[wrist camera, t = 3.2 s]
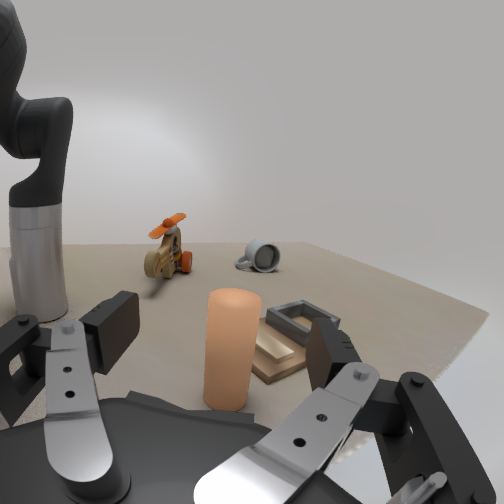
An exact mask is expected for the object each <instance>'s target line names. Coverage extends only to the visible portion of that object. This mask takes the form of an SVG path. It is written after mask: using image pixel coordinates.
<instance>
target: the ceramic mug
mask: <svg viewBox="0 0 504 504" xmlns="http://www.w3.org/2000/svg"><path fill="white" fill-rule="evenodd" d="M245 260H247V261H248V262H245V263H241V262H243V261H245ZM279 261H280V251H279V249H278V247H277V246H276V245H274V244H272V243H269V242H266V241H263V240H254V241H252V242H250V243H249V244H248V245H247V247H246V249H245V255H244V256H242V257H239V258H238V259H237V260H236V261H235V264H236V267H237V268H238V269H245V268H249V267H251V266H253V267H254V268H255V269H257V270H258V271H260V272H264V273H265V272H270V271H272V270H274V269H275V268H276V267H277V265H278V264H279Z"/></svg>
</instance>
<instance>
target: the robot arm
mask: <svg viewBox="0 0 504 504" xmlns="http://www.w3.org/2000/svg"><path fill="white" fill-rule="evenodd" d="M26 53H27V46H26V39H25V36H24V33H23V30H22V28H21V25H20V23H19V20H18V17H17V14H16V11H15V8H14V6H13V4H12V3H11V1H10V0H0V145H1V146H2V147H3V148H4V149H5V150H6V151H7V152H8V153H9V154H10V155H11V156H13V157H15V158H18V159H33V158H40V162H39V166H38V168H37V169H36V171H35V172H34V173H33V174H31V175H30V176H29V177H28V178H26V179H25V180H23V181H21V182H19V183H17V184H15V185H14V186H12V187H11V189H10V192H9V226H10V244H11V258H10V260H9V265H10V273H11V280H12V286H13V292H14V298H15V303H16V308H17V312H18V316H16V317H14V318H13V319H12V320H10V321H9V322H7V323H6V324H4V325H3V326H2V327H0V504H362V503H361V502H360V501H358V500H357V499H355V498H354V497H353V496H352V495H350V494H349V493H348V492H346V491H345V490H344V489H343V488H341V487H340V486H339V485H338V484H336V483H335V482H334V481H333V480H331V479H330V478H329V477H328V476H326V475H325V473H326V471H327V470H328V469H329V467H330V466H331V464H332V463H333V461H334V460H335V458H336V457H337V456H338V454H339V453H340V451H341V450H342V449H343V447H344V446H345V444H346V443H347V441H348V440H349V438H350V437H351V435H352V434H353V432H354V430H361V431H367V432H373V433H374V435H375V438H376V442H377V445H378V449H379V452H380V455H381V459H382V462H383V466H384V470H385V473H386V477H387V480H388V484H389V488H390V492H391V496H392V498H391V499H390V500H389V501H388V502H387V503H386V504H496V494H495V491H494V489H493V486H492V484H491V482H490V480H489V478H488V476H487V474H486V472H485V470H484V469H483V467H482V465H481V463H480V461H479V459H478V457H477V455H476V454H475V452H474V450H473V448H472V446H471V445H470V443H469V441H468V439H467V438H466V436H465V434H464V432H463V431H462V429H461V427H460V426H459V424H458V422H457V421H456V419H455V417H454V416H453V414H452V413H451V411H450V409H449V408H448V406H447V405H446V403H445V401H444V400H443V398H442V397H441V395H440V394H439V392H438V391H437V389H436V388H435V386H434V385H433V383H432V382H431V380H430V379H429V378H428V377H426V376H425V375H423V374H420V373H417V372H406V373H404V374H402V375H401V377H400V379H399V381H398V382H395V381H389V380H383V379H380V375H379V372H378V371H377V370H376V369H375V368H374V367H372V366H371V365H368V364H366V363H362V361H361V359H360V357H359V355H358V353H357V352H356V350H355V349H354V346H353V344H352V343H351V340H350V338H349V336H348V335H347V334H345V333H344V332H343V331H342V330H336V328H335V326H334V324H333V322H332V320H331V319H327V318H314V319H313V322H312V326H311V330H310V334H309V339H308V343H307V347H306V354H305V359H306V365H307V369H308V374H309V378H310V383H311V387H312V393H311V394H310V395H309V396H308V397H307V398H306V399H305V400H304V401H303V402H302V403H301V404H300V405H299V406H298V407H297V408H296V409H295V410H294V411H293V412H292V413H291V414H290V415H288V416H287V417H286V418H285V419H284V420H283V421H282V422H281V423H280V424H279V425H277V426H276V427H275V428H274V429H273V430H271V429H269V428H267V427H265V426H262V425H260V424H256V423H254V414H250V413H241V412H232V411H225V410H186V409H183V408H180V407H178V406H176V405H173V404H171V403H169V402H166V401H164V400H162V399H160V398H157V397H153V396H149V395H145V394H141V393H137V392H134V391H130V392H129V393H128V395H127V397H126V398H107V399H102V400H99V396H98V392H97V388H96V383H95V379H94V375H93V374H94V373H95V372H97V373H100V374H103V375H107V373H108V372H109V371H110V370H111V368H112V367H113V366H114V364H115V363H116V362H117V361H118V359H119V358H120V357H121V355H122V354H123V353H124V352H125V350H126V349H127V348H128V347H129V345H130V344H131V343H132V342H133V340H134V339H135V338H136V337H137V335H138V333H139V328H140V317H139V297H138V294H137V293H133V292H128V291H120V292H119V293H118V294H117V295H115V296H114V297H113V298H110V299H108V300H105V301H102V302H101V303H100V304H98V305H97V306H96V307H94V308H93V309H92V310H91V311H89V312H88V313H87V314H85V315H84V316H83V317H82V318H80V319H79V320H74V319H65V320H61V321H58V322H56V323H55V324H54V325H53V327H52V329H49V328H40V327H39V323H38V322H47V321H52V320H55V319H57V318H59V317H61V316H62V315H64V314H65V313H66V311H67V310H68V304H67V295H66V288H65V278H64V267H63V252H62V222H61V221H62V220H61V219H62V217H61V216H62V190H63V184H64V174H65V164H66V158H67V151H68V146H69V141H70V136H71V130H72V124H73V106H72V103H71V101H70V100H69V99H68V98H65V97H55V98H44V99H34V100H26V99H24V98H22V97H21V96H20V95H19V94H18V92H17V91H16V87H17V84H18V82H19V79H20V76H21V73H22V70H23V67H24V63H25V59H26ZM17 354H19V356H20V359H21V362H22V366H21V367H20V368H19V369H18V370H17V371H16V372H15V373H14V374H13V375H12V376H11V374H10V372H9V364H10V361H11V360H12V359H13V358H14V357H15V356H16V355H17ZM45 385H46V411H47V415H46V417H45V418H43V419H40V420H36V421H33V422H29V423H26V424H22V425H18V426H15V427H12V426H13V425H14V424H15V422H16V421H17V420H18V418H19V417H20V416H21V415H22V413H23V412H24V411H25V410H26V408H27V407H28V406H29V405H30V403H31V402H32V401H33V400H34V399H35V397H36V396H37V395H38V394H39V392H40V391H41V390H42V389H43V388H44V387H45ZM410 427H412V430H413V434H412V432H411V429H410Z"/></svg>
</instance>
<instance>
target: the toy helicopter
mask: <svg viewBox="0 0 504 504" xmlns="http://www.w3.org/2000/svg"><path fill="white" fill-rule="evenodd" d="M185 217H186V214H183V213H177V214H175V215H173V216H172V217H170V218H167V219H165V220H164V221H163V223H162V224H161V225H160V226H158V227H157V228H155V229H154V230H153V231H152V232H150V233H149V237H150V238H152V239H158V238H159V237H161V236H162V235H163V234H164V237H163V240H162V244H161V247H160V248H159V249H158V250H157V251H156V252H154V251H150V252H148V253H147V255H146V257H145V262H144V271H145V274H146V276H147V277H152V278H157V277H158V276H159V274H160V271H161V269H162V276H163V277H164V278H172V275H173V272H174V271H175V270H176V268H177V267H181V270H182V272H190V270H191V266H192V253H191V252H187V251H185V252H183V254H182V251H181V233H180V229H179V228H178V227H177V225H176V223H178V222H179V221H181V220H182V219H184V218H185Z"/></svg>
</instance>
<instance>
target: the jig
mask: <svg viewBox="0 0 504 504" xmlns="http://www.w3.org/2000/svg"><path fill="white" fill-rule="evenodd" d="M314 318H327V319H331V320H332V322H333V324H334V326H335V328H336V330H338V327H339V323H340V320H341V319H340V318H338V317H336V316H334V315H332V314H330V313H328V312H326V311H324V310H322V309H320V308H318V307H316V306H314V305H312V304H310V303H308V302H306V301H304V300H301V301H297V302H293V303H289V304H285V305H281V306H277V307H273V308H269V309H267V314H266V317H264V318H261V319H259V325H258V332H257V338H256V345H255V351H254V357H253V364H252V370H251V371H252V372H253V373H254V374H255V375H257V376H258V377H259V378H260V379H261V380H262V381H264V382H265V383H266V384H269V383H272V382H274V381H276V380H278V379H281V378H283V377H285V376H287V375H289V374H291V373H293V372H296V371H298V370H300V369H302V368H304V367H306V366H307V365H306V359H305V354H306V347H307V343H308V339H309V334H310V330H311V326H312V322H313V319H314ZM349 338H350V337H349Z"/></svg>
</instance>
